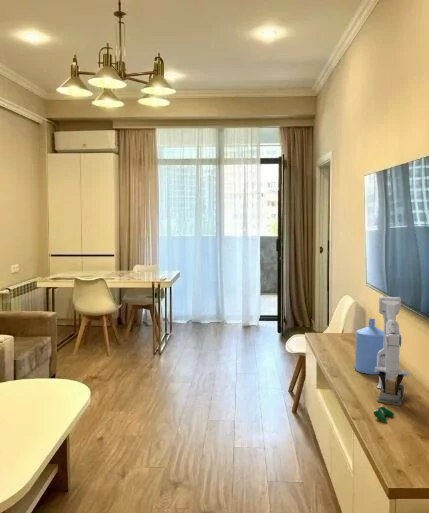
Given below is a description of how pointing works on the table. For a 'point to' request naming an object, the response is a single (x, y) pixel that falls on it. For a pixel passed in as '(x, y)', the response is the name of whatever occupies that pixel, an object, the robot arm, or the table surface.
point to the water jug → (368, 348)
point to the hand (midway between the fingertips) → (390, 389)
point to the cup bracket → (391, 396)
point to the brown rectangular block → (390, 386)
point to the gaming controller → (382, 413)
